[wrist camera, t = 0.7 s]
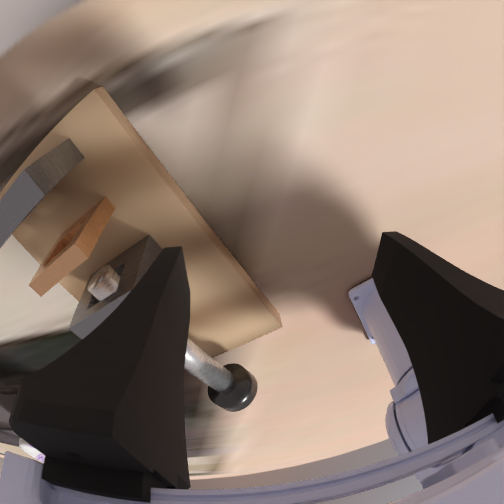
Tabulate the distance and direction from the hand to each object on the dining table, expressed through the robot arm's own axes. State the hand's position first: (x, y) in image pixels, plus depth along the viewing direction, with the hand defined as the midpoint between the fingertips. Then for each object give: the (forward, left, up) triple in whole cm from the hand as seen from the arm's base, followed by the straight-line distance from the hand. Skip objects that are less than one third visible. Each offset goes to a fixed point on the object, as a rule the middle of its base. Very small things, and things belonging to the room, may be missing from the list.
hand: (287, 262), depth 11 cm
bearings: (+4, +11, -8) cm, 14 cm away
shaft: (-7, +11, -7) cm, 14 cm away
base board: (-1, +11, -10) cm, 14 cm away
